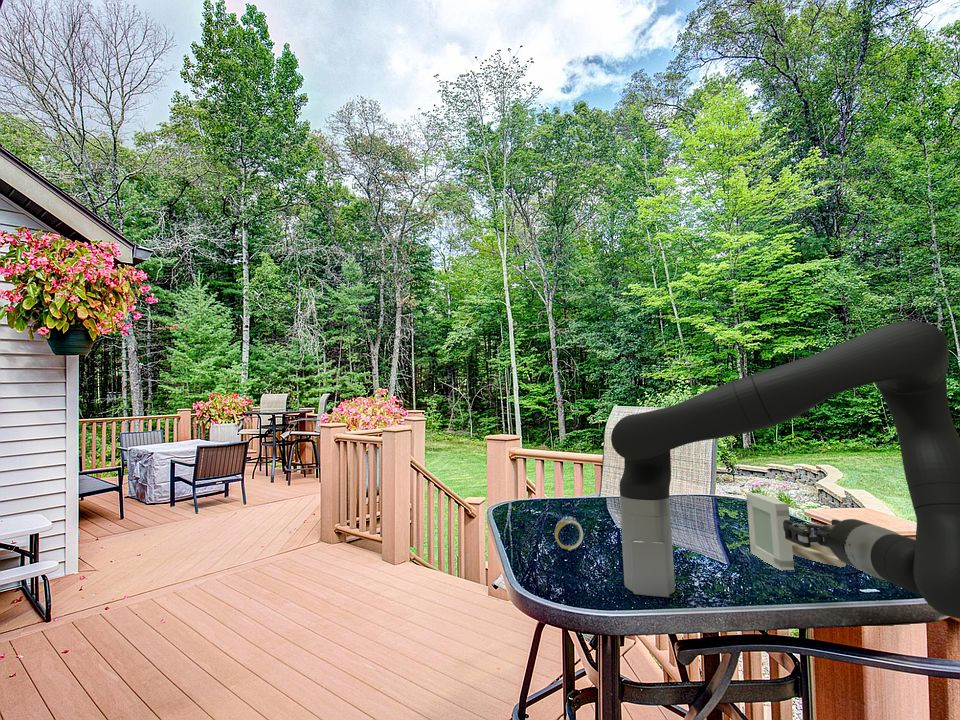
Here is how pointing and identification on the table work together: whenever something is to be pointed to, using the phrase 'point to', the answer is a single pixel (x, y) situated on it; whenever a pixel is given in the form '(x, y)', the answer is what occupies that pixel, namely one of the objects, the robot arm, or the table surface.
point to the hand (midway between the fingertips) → (809, 525)
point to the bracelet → (560, 525)
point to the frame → (769, 531)
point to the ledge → (817, 554)
